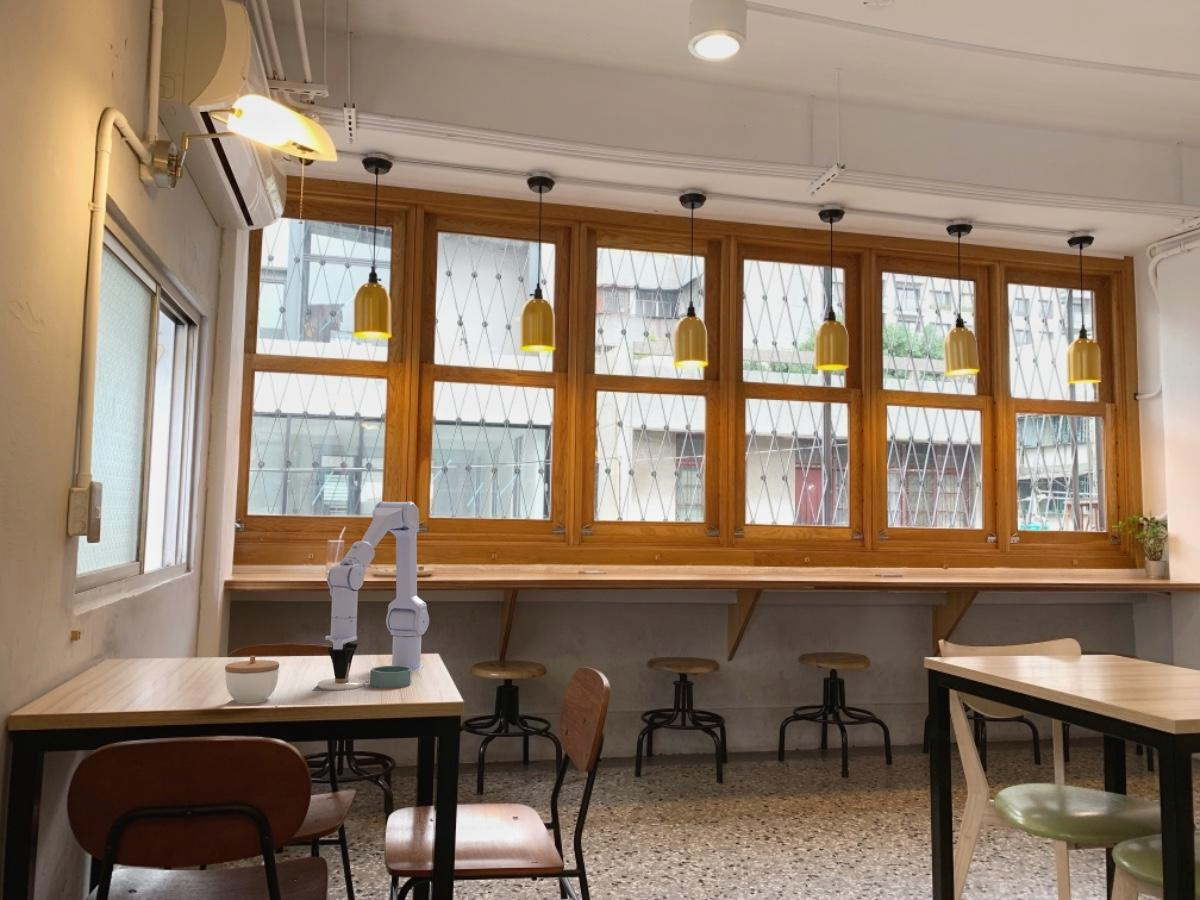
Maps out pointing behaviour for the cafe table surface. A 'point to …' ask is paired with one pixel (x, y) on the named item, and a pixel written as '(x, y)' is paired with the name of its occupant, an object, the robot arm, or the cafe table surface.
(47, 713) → the cafe table surface
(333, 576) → the robot arm
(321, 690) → the mat
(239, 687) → the lidded jar
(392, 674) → the bowl
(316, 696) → the cafe table surface
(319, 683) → the lid
